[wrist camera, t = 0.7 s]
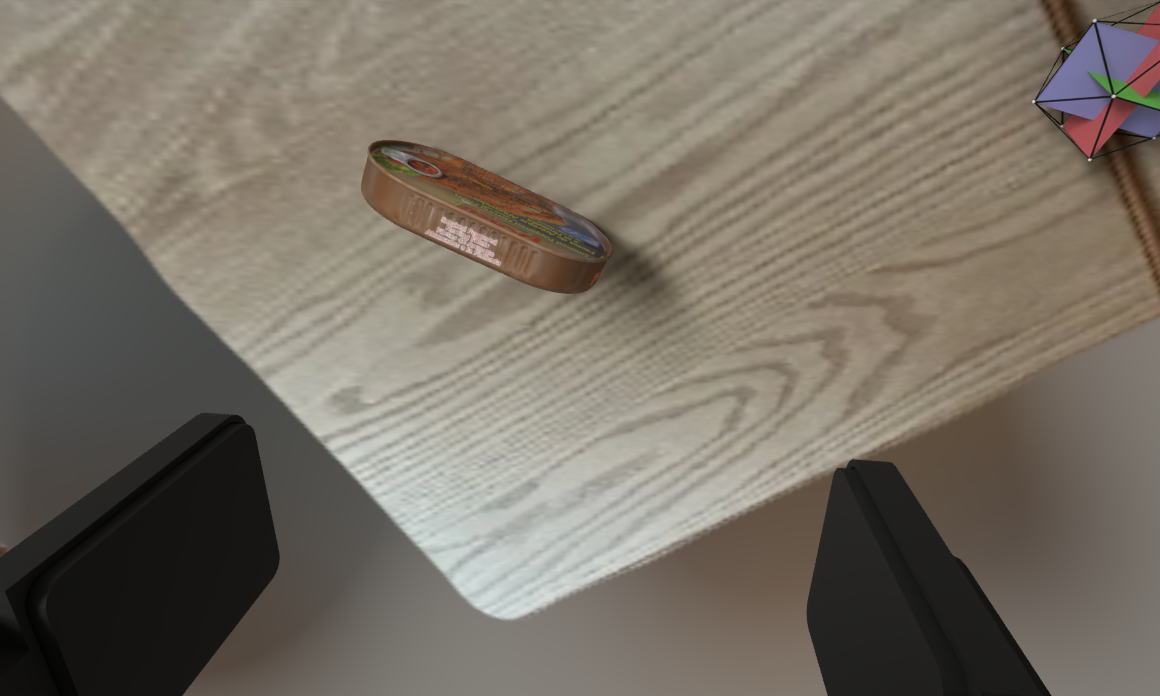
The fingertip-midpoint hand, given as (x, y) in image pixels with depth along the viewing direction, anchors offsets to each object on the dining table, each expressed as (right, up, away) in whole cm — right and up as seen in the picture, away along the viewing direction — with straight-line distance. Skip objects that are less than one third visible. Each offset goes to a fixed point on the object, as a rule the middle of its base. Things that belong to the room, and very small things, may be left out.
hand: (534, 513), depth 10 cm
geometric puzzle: (+29, +17, +25) cm, 42 cm away
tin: (-4, +12, +31) cm, 34 cm away
